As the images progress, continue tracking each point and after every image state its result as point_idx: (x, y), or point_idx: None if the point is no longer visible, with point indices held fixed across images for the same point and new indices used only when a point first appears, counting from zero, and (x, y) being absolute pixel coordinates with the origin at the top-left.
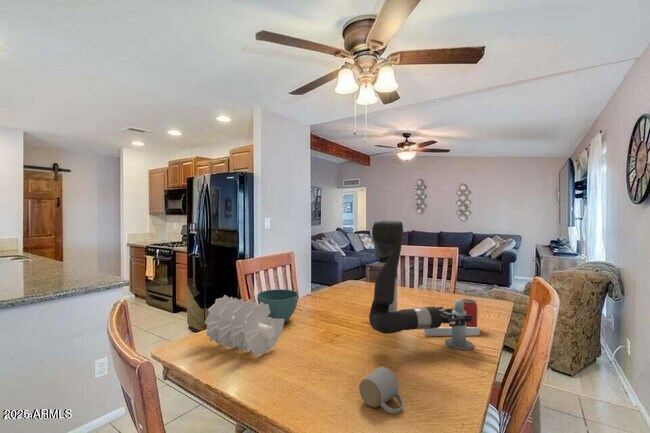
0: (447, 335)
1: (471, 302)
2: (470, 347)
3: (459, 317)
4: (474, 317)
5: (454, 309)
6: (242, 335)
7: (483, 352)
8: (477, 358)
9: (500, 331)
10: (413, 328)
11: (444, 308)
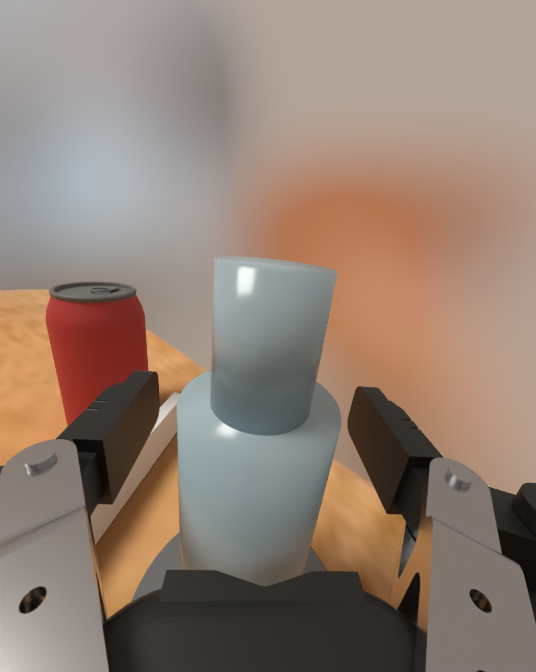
0: None
1: (115, 293)
2: (314, 569)
3: (486, 528)
4: (145, 359)
5: (181, 400)
6: None
7: (361, 530)
8: None
9: (194, 364)
10: None
11: (7, 479)
